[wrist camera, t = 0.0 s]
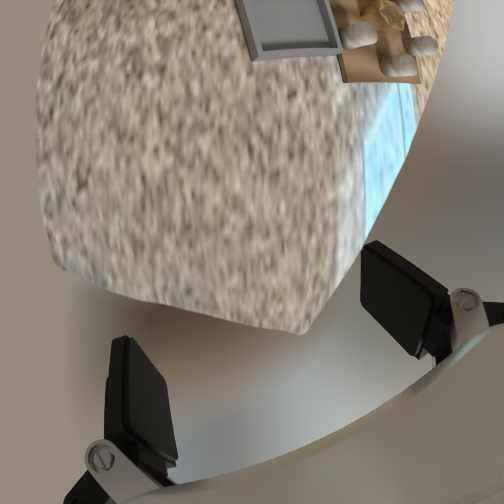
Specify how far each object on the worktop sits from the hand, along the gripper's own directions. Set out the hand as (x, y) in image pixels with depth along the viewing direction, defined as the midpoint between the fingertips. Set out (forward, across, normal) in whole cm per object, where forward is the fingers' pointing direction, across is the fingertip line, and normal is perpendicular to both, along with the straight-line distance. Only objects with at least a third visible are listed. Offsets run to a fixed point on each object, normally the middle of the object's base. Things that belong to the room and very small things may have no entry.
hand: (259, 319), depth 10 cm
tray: (+31, -20, -21) cm, 42 cm away
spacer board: (+31, -38, -22) cm, 54 cm away
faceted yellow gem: (+30, -38, -22) cm, 53 cm away
